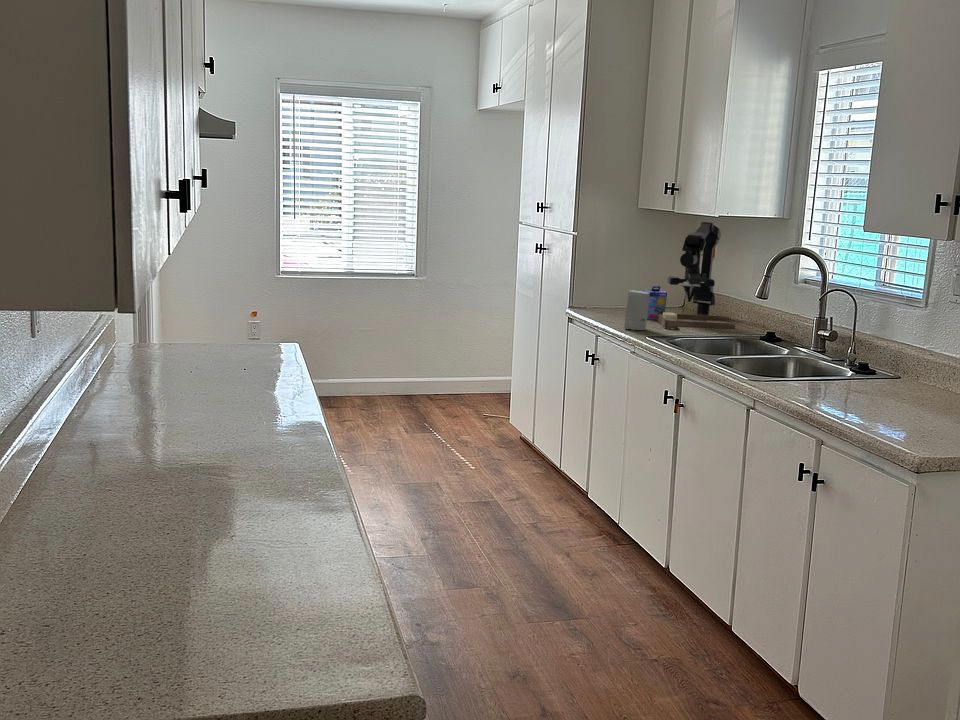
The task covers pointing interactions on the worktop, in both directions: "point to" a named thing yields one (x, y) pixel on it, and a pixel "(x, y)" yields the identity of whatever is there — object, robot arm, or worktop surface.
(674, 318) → the maple block
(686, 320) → the trap box
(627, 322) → the skincare box
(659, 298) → the ink cartridge box
